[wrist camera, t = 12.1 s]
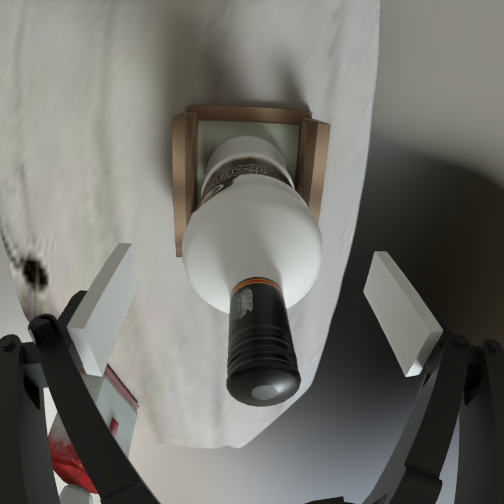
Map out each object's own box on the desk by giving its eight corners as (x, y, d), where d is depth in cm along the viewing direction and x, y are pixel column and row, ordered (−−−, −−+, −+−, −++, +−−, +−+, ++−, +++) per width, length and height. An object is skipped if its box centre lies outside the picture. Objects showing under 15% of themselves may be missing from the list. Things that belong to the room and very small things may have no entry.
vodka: (232, 222, 39) (225, 462, 13) (192, 160, 35) (74, 351, 9) (298, 186, 37) (411, 397, 11) (261, 120, 33) (345, 213, 7)
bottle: (144, 404, 59) (121, 527, 33) (107, 405, 60) (79, 517, 34) (111, 361, 53) (68, 501, 26) (73, 364, 53) (25, 487, 27)
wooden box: (188, 105, 33) (172, 108, 25) (310, 111, 34) (331, 116, 26) (188, 229, 41) (176, 263, 33) (297, 232, 42) (311, 267, 34)
